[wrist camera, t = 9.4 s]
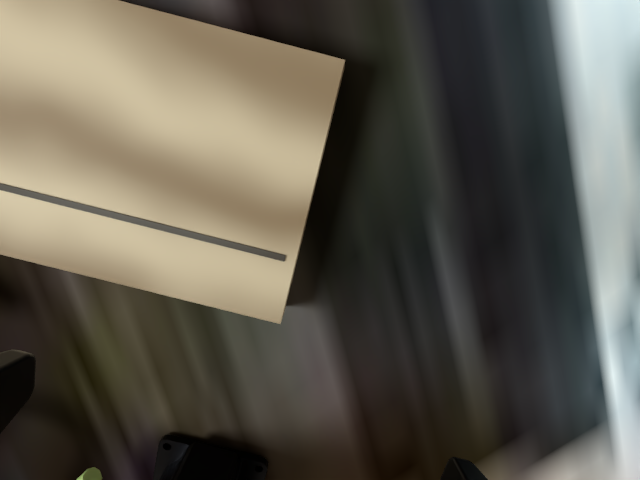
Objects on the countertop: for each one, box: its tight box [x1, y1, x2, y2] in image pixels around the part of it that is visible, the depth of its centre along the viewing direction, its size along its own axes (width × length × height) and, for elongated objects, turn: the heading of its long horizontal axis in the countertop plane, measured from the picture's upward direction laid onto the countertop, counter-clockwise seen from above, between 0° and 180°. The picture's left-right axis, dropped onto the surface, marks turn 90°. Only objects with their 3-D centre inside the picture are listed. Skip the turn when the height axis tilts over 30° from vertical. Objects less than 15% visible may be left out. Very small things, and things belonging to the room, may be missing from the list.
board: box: [0, 0, 345, 324], centre depth 18 cm, size 12×28×2 cm, turn 76°
